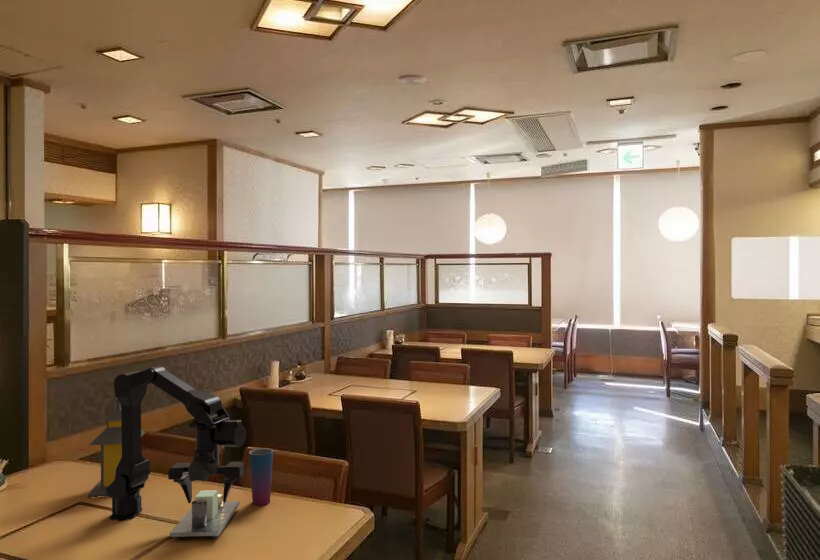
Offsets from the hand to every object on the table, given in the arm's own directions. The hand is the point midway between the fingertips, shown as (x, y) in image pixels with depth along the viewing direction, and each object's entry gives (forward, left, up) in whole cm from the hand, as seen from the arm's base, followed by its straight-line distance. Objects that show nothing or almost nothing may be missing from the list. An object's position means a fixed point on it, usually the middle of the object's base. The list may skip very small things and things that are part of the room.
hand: (207, 502), depth 152 cm
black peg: (0, -6, -4) cm, 7 cm away
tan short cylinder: (0, +7, -4) cm, 8 cm away
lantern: (-37, +29, -6) cm, 48 cm away
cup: (+11, +15, -6) cm, 20 cm away
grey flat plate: (0, 0, -6) cm, 6 cm away
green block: (0, 0, -4) cm, 4 cm away
